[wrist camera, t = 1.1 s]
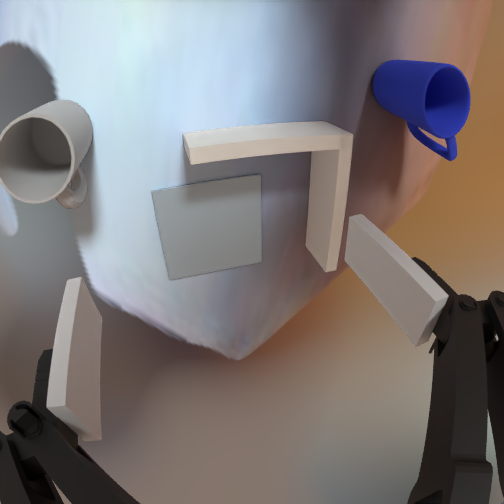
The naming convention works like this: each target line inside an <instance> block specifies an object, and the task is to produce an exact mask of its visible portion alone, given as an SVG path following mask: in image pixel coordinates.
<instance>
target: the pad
mask: <svg viewBox="0 0 504 504" xmlns="http://www.w3.org/2000/svg"><path fill="white" fill-rule="evenodd" d="M152 197H153V202H154V208H155V213H156V218H157V223H158V228H159V233H160V238H161V243H162V248H163V252H164V257H165V261H166V266H167V270H168V275H169V279H170V280H174V279H179V278H184V277H189V276H194V275H199V274H204V273H209V272H214V271H219V270H225V269H230V268H235V267H240V266H245V265H250V264H255V263H260V262H262V230H261V175H260V174H257V175H249V176H242V177H234V178H227V179H221V180H214V181H207V182H201V183H195V184H189V185H183V186H177V187H171V188H166V189H160V190H155V191H152Z"/></svg>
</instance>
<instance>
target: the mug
mask: <svg viewBox="0 0 504 504" xmlns="http://www.w3.org/2000/svg"><path fill="white" fill-rule="evenodd" d="M373 92H374V96H375V98H376V100H377V101H378V103H379V104H380V105H381V106H382V107H383V108H384V109H385V110H387V111H388V112H390V113H392V114H394V115H396V116H398V117H400V118H402V119H404V120H406V121H407V125H408V128H409V130H410V132H411V133H412V134H413V136H414V137H415V138H416V139H417V140H419V141H420V142H421V143H422V144H424V145H425V146H427V147H428V148H429V149H431V150H433V151H434V152H436V153H437V154H439V155H440V156H442V157H444V158H445V159H447V160H449V161H452V160H454V159H455V158H456V156H457V145H456V139H455V135H456V134H457V133H458V132H459V131H460V130H461V128H462V127H463V126H464V124H465V122H466V120H467V117H468V114H469V110H470V90H469V85H468V82H467V80H466V78H465V76H464V75H463V73H462V72H461V71H460V70H459V69H458V68H457V67H455V66H453V65H450V64H444V63H435V62H423V61H410V60H391V61H387V62H385V63H383V64H382V65H381V66H380V67H379V68H378V69H377V71H376V72H375V75H374V78H373ZM417 126H418V127H419V128H421V129H423V130H425V131H427V132H429V133H430V134H432V135H434V136H436V137H438V138H442V139H445V140H446V144H447V148H445V147H443V146H442V145H440V144H438V143H437V142H435V141H433V140H432V139H430V138H429V137H427V136H426V135H425V134H424V133H422V132H421V130H420V129H419V128H418V127H417Z"/></svg>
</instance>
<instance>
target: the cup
mask: <svg viewBox="0 0 504 504" xmlns="http://www.w3.org/2000/svg"><path fill="white" fill-rule="evenodd" d="M92 136H93V128H92V122H91V120H90V117H89V115H88V114H87V112H86V111H85V109H84V108H83V107H81V106H80V105H79V104H78V103H75V102H73V101H70V100H56V101H52V102H49V103H47V104H45V105H42V106H40V107H38V108H36V109H34V110H32V111H30V112H28V113H27V114H25V115H23V116H21V117H19V118H17V119H16V120H14V121H12V122H11V123H10V124H9V125H8V126H7V127H6V128H5V129H4V130H3V132H2V134H1V135H0V183H1V185H2V186H3V187H4V188H5V190H6V191H7V192H8V193H9V194H10V195H12V196H13V197H14V198H16V199H18V200H20V201H23V202H25V203H33V204H38V203H43V202H47V201H49V200H51V199H53V198H56V200H57V201H58V202H59V203H60V204H61V205H62V206H63V207H65V208H67V209H71V208H78V207H79V206H80V205H81V204H82V202H83V201H84V200H85V197H86V195H87V183H86V179H85V175H84V172H83V170H82V168H81V166H80V163H81V162H82V160H83V158H84V157H85V155H86V154H87V152H88V149H89V147H90V145H91V142H92ZM70 181H71V188H70V187H69V185H68V183H69V182H70Z"/></svg>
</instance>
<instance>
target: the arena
mask: <svg viewBox="0 0 504 504" xmlns="http://www.w3.org/2000/svg"><path fill="white" fill-rule="evenodd" d="M183 140H184V148H185V150H186V153H187V156H188V158H189V161H190V164H191V165H194V164H201V163H207V162H214V161H222V160H229V159H237V158H245V157H254V156H263V155H272V154H283V153H294V152H306V151H312V152H311V171H310V189H309V204H308V218H307V231H306V244H305V246H306V247H307V249H308V250H309V251H310V253H311V254H312V255H313V256H314V258H315V259H316V260H317V262H318V263H319V264H320V266H321V267H322V268H323V270H324V271H325V272H329V271H334V270H336V268H337V262H338V256H339V250H340V244H341V237H342V230H343V223H344V216H345V208H346V200H347V192H348V184H349V175H350V165H351V155H352V145H353V134H351V133H349V132H347V131H345V130H343V129H341V128H339V127H336V126H334V125H332V124H330V123H328V122H325V121H309V122H287V123H271V124H257V125H246V126H235V127H226V128H217V129H209V130H201V131H193V132H186V133H183Z"/></svg>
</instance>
